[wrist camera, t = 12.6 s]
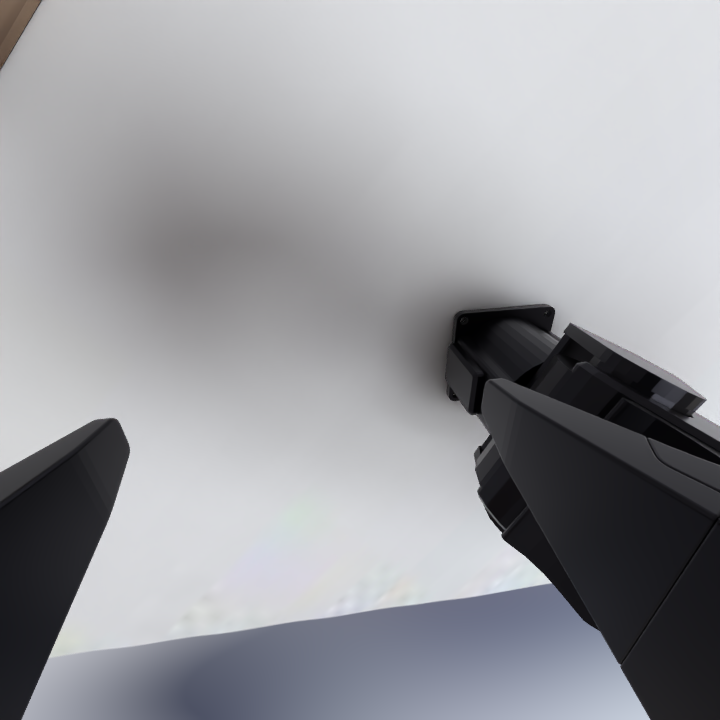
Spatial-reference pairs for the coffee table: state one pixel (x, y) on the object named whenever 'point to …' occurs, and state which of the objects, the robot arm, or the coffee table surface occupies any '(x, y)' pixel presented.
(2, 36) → the organiser
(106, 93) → the coffee table surface
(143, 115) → the coffee table surface
